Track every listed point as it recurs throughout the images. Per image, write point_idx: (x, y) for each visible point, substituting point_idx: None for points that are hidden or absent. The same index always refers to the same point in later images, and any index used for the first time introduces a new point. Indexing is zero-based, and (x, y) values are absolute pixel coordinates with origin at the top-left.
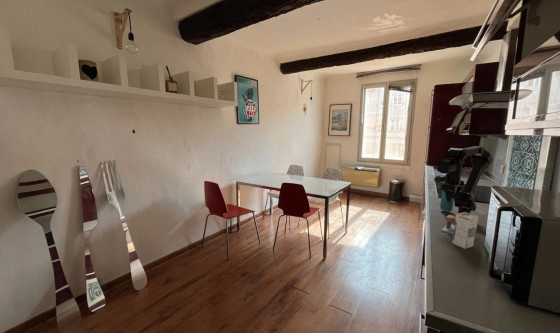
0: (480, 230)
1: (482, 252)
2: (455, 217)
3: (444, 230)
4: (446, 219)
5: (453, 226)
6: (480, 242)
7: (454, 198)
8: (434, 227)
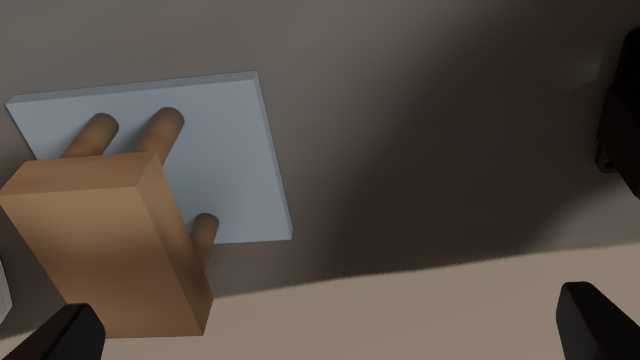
0: (390, 270)
1: (4, 338)
2: (117, 258)
3: (20, 125)
4: (18, 180)
5: (218, 142)
6: None
7: (557, 324)
8: (15, 4)
